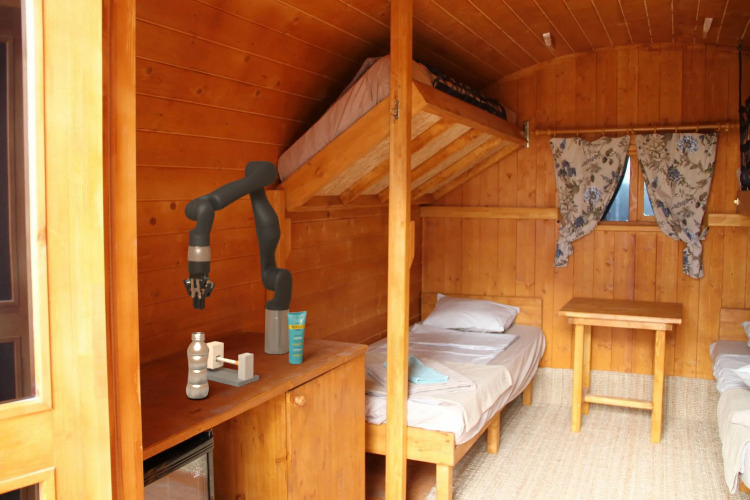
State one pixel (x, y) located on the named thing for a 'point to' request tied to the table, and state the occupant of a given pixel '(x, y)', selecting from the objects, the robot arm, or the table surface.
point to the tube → (296, 336)
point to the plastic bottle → (197, 367)
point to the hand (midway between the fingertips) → (198, 308)
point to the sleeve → (215, 354)
